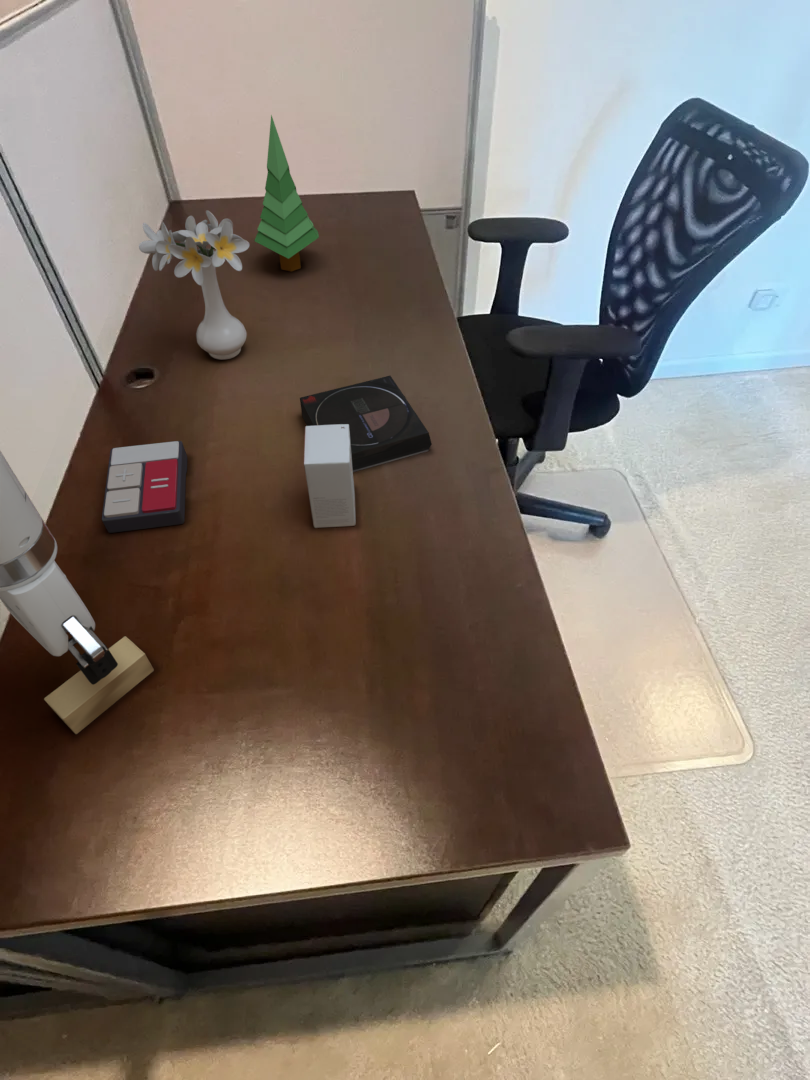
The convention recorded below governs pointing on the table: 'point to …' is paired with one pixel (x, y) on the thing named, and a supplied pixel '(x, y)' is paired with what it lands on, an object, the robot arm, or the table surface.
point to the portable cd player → (370, 421)
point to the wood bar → (99, 687)
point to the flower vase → (204, 275)
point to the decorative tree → (283, 210)
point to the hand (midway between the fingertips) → (78, 649)
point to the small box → (329, 475)
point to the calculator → (145, 487)
